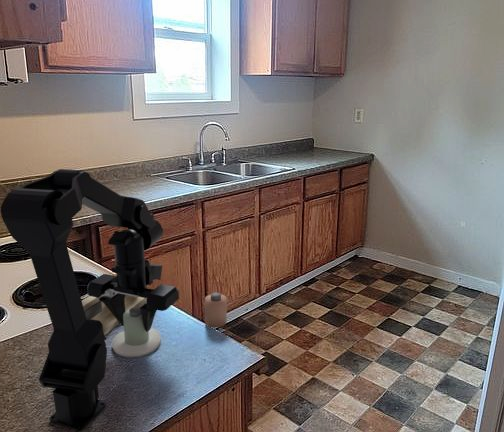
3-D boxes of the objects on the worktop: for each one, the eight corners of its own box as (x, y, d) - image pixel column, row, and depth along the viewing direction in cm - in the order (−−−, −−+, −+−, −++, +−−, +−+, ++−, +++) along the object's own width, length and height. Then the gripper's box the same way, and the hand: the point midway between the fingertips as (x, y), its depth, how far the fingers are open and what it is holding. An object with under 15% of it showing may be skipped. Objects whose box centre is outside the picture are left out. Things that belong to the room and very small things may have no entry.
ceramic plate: (143, 361, 87) (143, 357, 86) (102, 351, 90) (102, 347, 90) (169, 335, 96) (169, 331, 95) (131, 327, 99) (131, 323, 99)
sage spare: (140, 348, 90) (138, 318, 87) (119, 342, 91) (117, 312, 89) (153, 335, 94) (152, 306, 92) (133, 330, 96) (132, 301, 94)
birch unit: (88, 347, 91) (84, 313, 89) (69, 342, 93) (65, 309, 91) (148, 301, 111) (146, 272, 109) (131, 297, 113) (128, 269, 110)
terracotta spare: (222, 329, 99) (223, 301, 96) (202, 325, 100) (201, 298, 98) (229, 318, 103) (229, 291, 101) (209, 315, 104) (209, 288, 102)
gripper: (190, 251, 91) (193, 317, 96) (116, 240, 98) (122, 303, 102) (162, 272, 81) (166, 344, 86) (81, 258, 88) (89, 326, 92)
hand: (135, 327), depth 92 cm, fingers open, 6 cm apart
